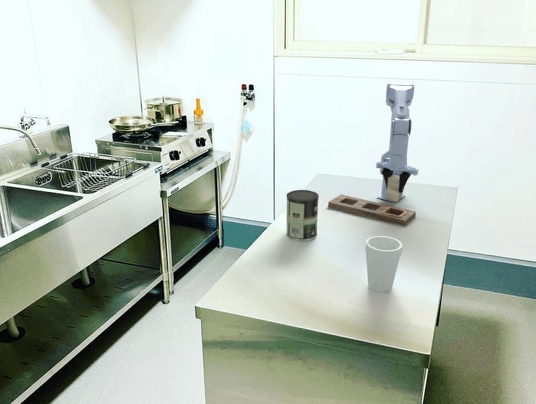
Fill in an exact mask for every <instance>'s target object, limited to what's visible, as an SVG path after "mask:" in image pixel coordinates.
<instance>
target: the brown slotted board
mask: <svg viewBox="0 0 536 404" xmlns="http://www.w3.org/2000/svg"><path fill="white" fill-rule="evenodd" d="M327 202H328V203H327V205H328V206H327V207H328V208H331V209H335V210H339V211H343V212H347V213H351V214H355V215H359V216H363V217H367V218H372V219H374V220H379V221H384V222H387V223H392V224H395V225H400V226H404V227H406V226H407V225H408V224H409V223H410V222H412V220H414V218H416V213H417V211H415V210H410V209H406V208H401V207H397V206H393V205H388V204H385V203H380V202H376V201H373V200H367V199H363V198H359V197H353V196H349V195H345V194H342V193H340V194H339V195H338V196H336V197H334V198H333V199H331V200H329V201H327Z"/></svg>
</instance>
